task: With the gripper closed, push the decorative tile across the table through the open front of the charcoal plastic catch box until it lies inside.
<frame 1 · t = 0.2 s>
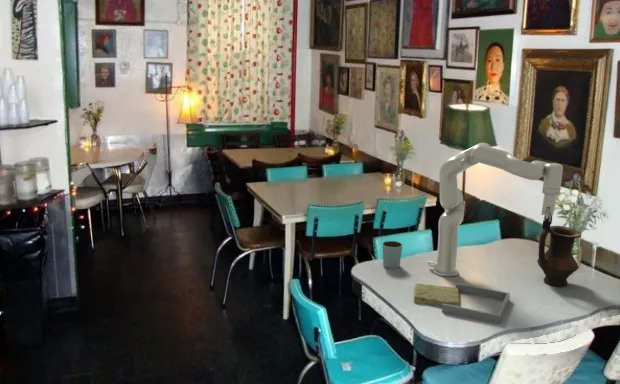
hand: (546, 226, 284), 31 cm above the table, tool pointing down, fingers open, 9 cm apart
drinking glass: (391, 266, 317), on the table
jug: (553, 283, 300), on the table
catch box: (476, 305, 271), on the table
decorative tile: (435, 299, 279), on the table
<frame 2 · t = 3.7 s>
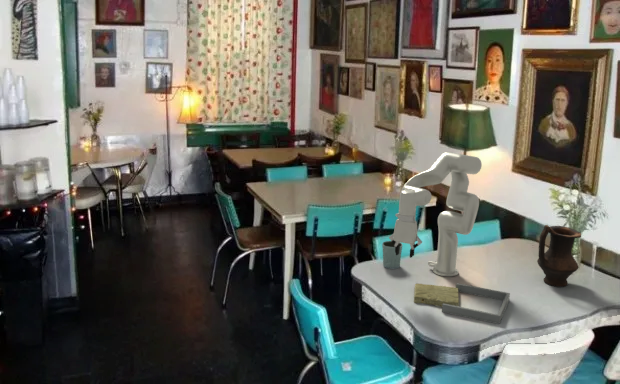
hand: (404, 255, 281), 18 cm above the table, tool pointing down, fingers open, 5 cm apart
nothing on the table moved.
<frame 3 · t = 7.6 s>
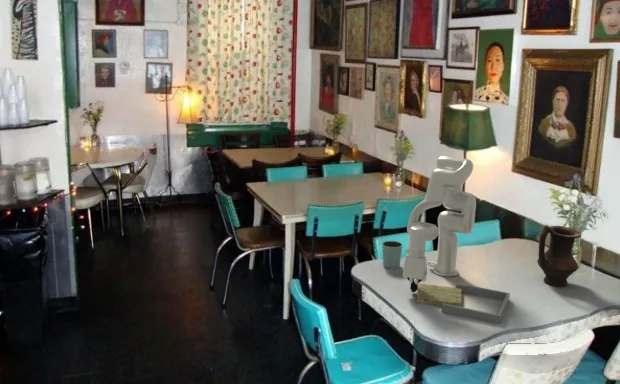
hand: (413, 291, 283), 1 cm above the table, tool pointing down, fingers closed
decorative tile: (438, 299, 278), on the table, touching gripper
everything else where it was.
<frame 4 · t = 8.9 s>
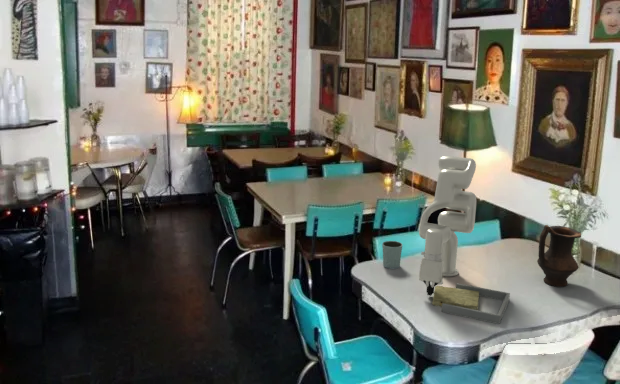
hand: (429, 294, 280), 1 cm above the table, tool pointing down, fingers closed
decorative tile: (455, 302, 276), on the table, touching gripper
everything else where it was.
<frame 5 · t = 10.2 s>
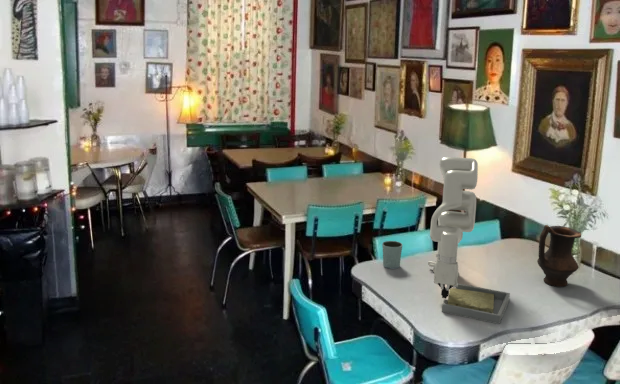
hand: (444, 297, 277), 1 cm above the table, tool pointing down, fingers closed
decorative tile: (470, 304, 274), on the table, touching gripper
everything else where it was.
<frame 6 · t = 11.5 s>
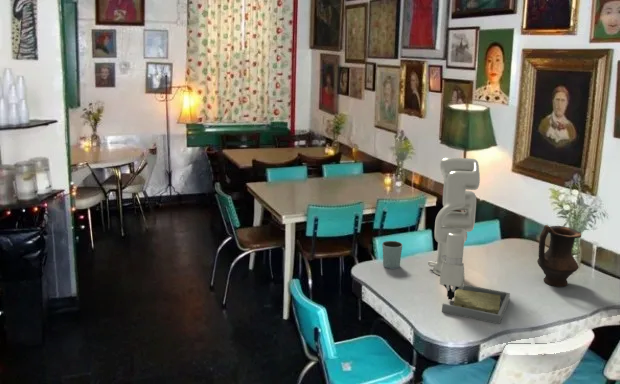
hand: (450, 298, 276), 1 cm above the table, tool pointing down, fingers closed
decorative tile: (476, 306, 273), on the table
everything else where it was.
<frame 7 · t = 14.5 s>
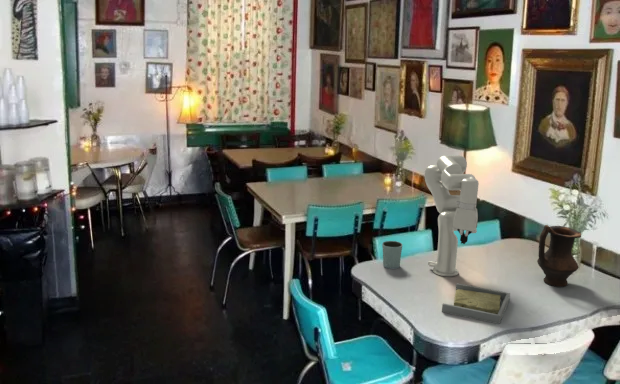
hand: (463, 242, 286), 22 cm above the table, tool pointing down, fingers closed
nothing on the table moved.
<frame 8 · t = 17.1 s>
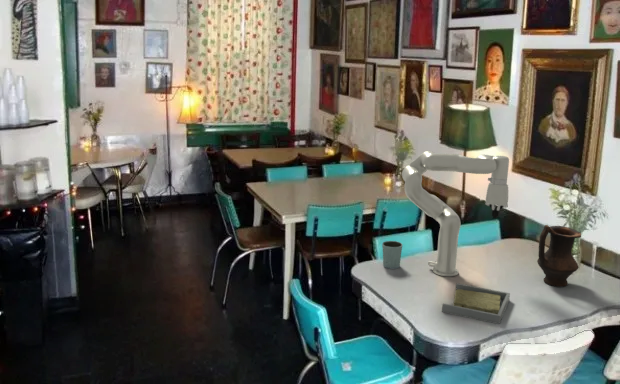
hand: (495, 217, 304), 29 cm above the table, tool pointing down, fingers closed
nothing on the table moved.
at the end: decorative tile inside the target area (3.5 cm from its centre), on the table; decorative tile tilted 0°; decorative tile moved 17.9 cm from its start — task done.
